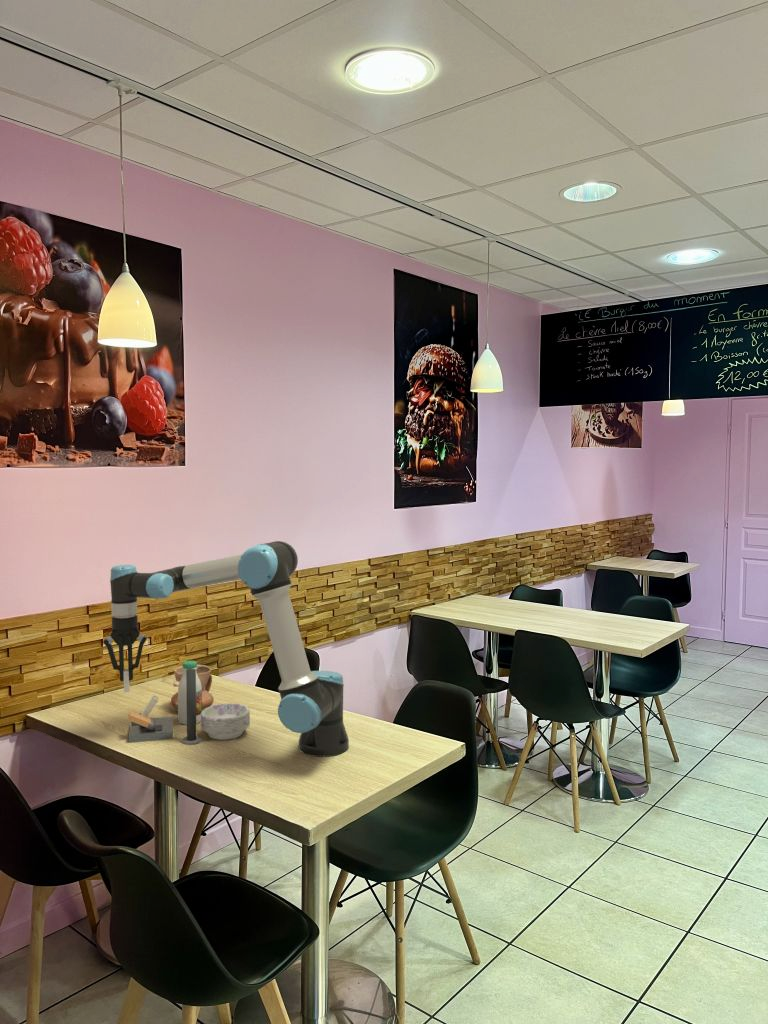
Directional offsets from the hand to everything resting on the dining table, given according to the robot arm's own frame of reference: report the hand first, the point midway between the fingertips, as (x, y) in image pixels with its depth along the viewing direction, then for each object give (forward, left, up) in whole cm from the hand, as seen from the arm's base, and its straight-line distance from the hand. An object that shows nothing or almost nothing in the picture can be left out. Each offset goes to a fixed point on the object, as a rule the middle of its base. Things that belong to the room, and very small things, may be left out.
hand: (126, 690), depth 235 cm
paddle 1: (+7, -4, -11) cm, 14 cm away
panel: (+3, -7, -15) cm, 17 cm away
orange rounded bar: (0, -7, -11) cm, 13 cm away
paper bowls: (-4, -30, -15) cm, 34 cm away
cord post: (-7, -19, -15) cm, 25 cm away
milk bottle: (+11, -19, -15) cm, 27 cm away
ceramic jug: (+25, -21, -15) cm, 36 cm away
